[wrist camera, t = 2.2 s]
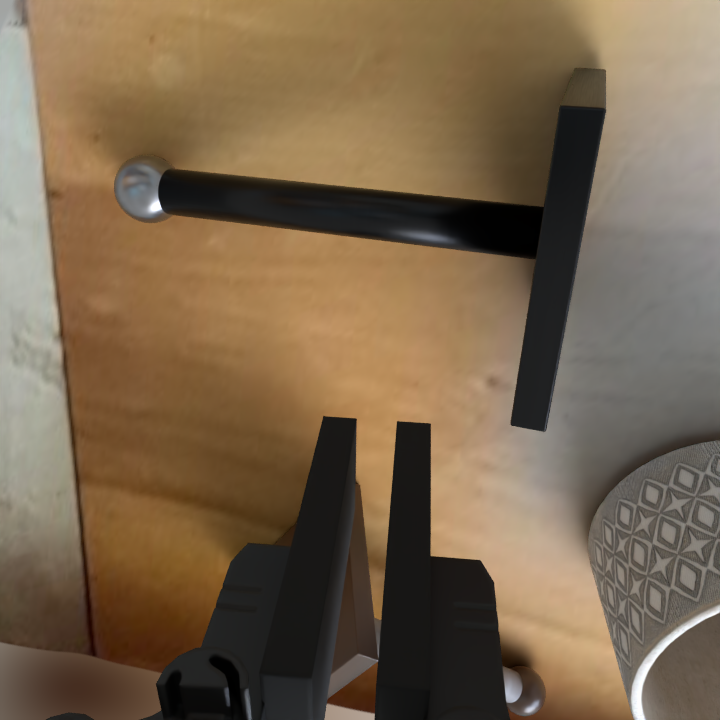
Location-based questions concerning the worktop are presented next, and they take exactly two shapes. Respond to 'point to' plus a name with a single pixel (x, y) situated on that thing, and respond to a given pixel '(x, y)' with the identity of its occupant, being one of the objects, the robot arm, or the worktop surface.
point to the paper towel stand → (363, 630)
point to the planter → (664, 582)
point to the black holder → (422, 223)
